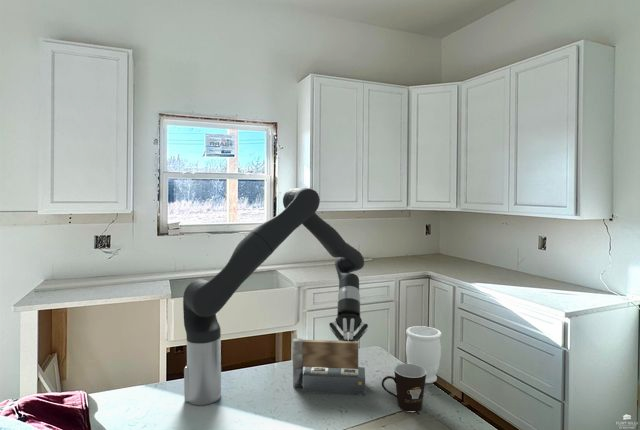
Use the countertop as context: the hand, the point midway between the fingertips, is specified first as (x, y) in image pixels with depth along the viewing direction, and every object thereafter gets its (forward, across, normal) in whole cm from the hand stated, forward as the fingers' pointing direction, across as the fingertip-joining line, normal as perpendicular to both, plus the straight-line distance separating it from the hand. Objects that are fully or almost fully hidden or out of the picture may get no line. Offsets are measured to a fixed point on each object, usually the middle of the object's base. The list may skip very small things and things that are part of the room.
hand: (348, 353), depth 120 cm
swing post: (+9, -15, +4) cm, 18 cm away
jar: (+3, +24, +10) cm, 26 cm away
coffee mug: (+15, +16, -2) cm, 22 cm away
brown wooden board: (+5, -7, -1) cm, 8 cm away
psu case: (+9, -4, +4) cm, 11 cm away
